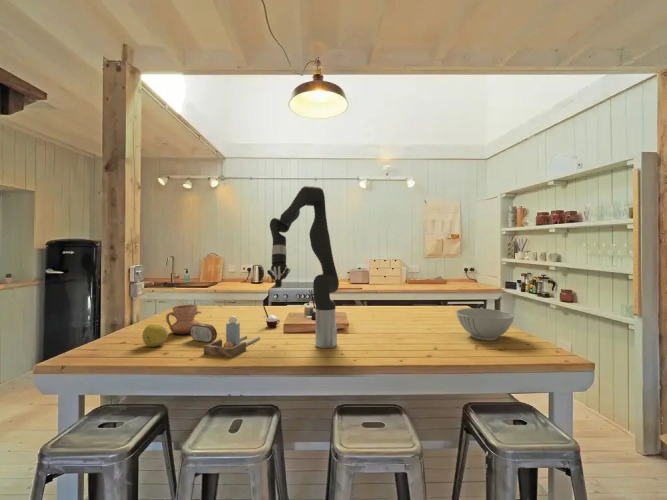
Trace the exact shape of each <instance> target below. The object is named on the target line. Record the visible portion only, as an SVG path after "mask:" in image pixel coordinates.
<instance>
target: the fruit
mask: <svg viewBox="0 0 667 500" xmlns="http://www.w3.org/2000/svg"><path fill="white" fill-rule="evenodd" d="M141 336H142V337H141V338H142V341H143V343H144V344H145V345H146V346H147V347H149V348H154V347H158V346H160V345H163V344H165V342H167V341H168V337H169V331H168V330H167V328H166V327H165V326H164V325H161V324H155V323H151V324H148V325H147V326H146V327H145V328H144V330H143V331H142V335H141Z"/></svg>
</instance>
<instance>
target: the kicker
mask: <svg viewBox="0 0 667 500" xmlns="http://www.w3.org/2000/svg"><path fill="white" fill-rule="evenodd" d="M237 321H238V318H237V316H235V315H230V316H229V318H228V322H227V323H226V324H225V326H226V329H225V334H226V336H225V338H226V339H225V340H226V341H225V342H228V341H229V342H231V343H232V344H233V347H234V346H236V345H238V344H240V343H241V341H240V338H241V335H240V334H241V330H240V329H241V327H240V326H241V325H240V322H237Z"/></svg>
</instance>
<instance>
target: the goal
mask: <svg viewBox="0 0 667 500" xmlns="http://www.w3.org/2000/svg"><path fill="white" fill-rule="evenodd" d="M246 343H247V341H241V342H240V344H238V345H236V346H234V347H231V348H229V347H223V340H222V339H216V340H215V341H213V342H210V343H207V344H205V345H203V354H204V355H209V356H217V357H218V356H219V357H224V358H225V357H226V358H234V357H236V356H238V355H239V354H241V353H243V352H245V351H246V350H247V346H246Z"/></svg>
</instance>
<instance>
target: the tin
mask: <svg viewBox="0 0 667 500" xmlns="http://www.w3.org/2000/svg"><path fill="white" fill-rule="evenodd" d="M190 333H191V334H190V337H191V338H192V339H193V341H196V342H201V343H207V344H210V343H212V342H214V341H217V337H218V332H217V329H216V327H214V326H213V325H212V324H207V323H202V322H201V323H200V322H199V323H197V324H194V325H193V326H192V327H191V328H190Z"/></svg>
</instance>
